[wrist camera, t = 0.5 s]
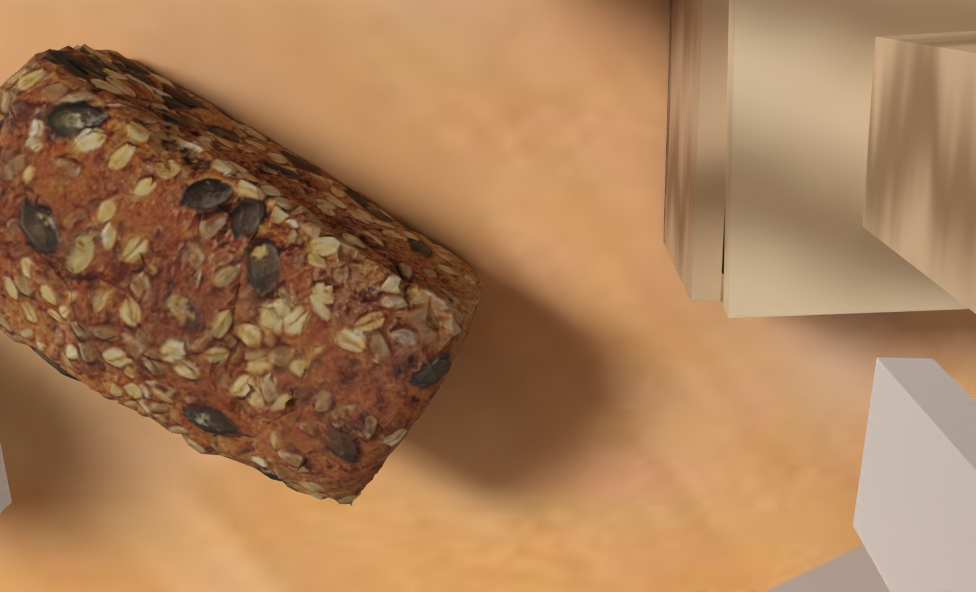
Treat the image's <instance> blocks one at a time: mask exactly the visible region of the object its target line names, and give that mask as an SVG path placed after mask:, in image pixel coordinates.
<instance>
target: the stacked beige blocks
mask: <svg viewBox="0 0 976 592" xmlns="http://www.w3.org/2000/svg"><path fill="white" fill-rule="evenodd" d="M723 309H724V311H725V313H726V314H727V316H728V318H746V317H773V316H799V315H825V314H851V313H877V312H903V311H930V310H956V309H970V310H971V311H972V312H974V313H975V314H976V0H729V26H728V80H727V134H726V188H725V242H724V296H723Z"/></svg>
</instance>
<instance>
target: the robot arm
mask: <svg viewBox="0 0 976 592" xmlns="http://www.w3.org/2000/svg"><path fill="white" fill-rule="evenodd" d="M11 503H12V500H11V495H10V490H9V485H8V480H7V474H6V469H5V464H4V459H3V454H2V448H1V443H0V513H1V512H2V511H3V510H4V509H6V508H7V507H8V506H9V505H10V504H11ZM853 527H854V529H855V530H856V532H857V534H858V536H859V537H860V539H861V541H862V543H863V545H864V546H865V548H866V550H867V552H868V553H869V555H870V557H871V559H872V560H873V562H874V564H875V566H876V568H877V569H878V571H879V573H880V574H881V576H882V578H883V580H884V582H885V584H886V585H887V587H888V589H889V590H890V592H976V401H975V400H974V399H973V398H972V397H971V396H970V395H969V394H968V393H967V392H966V391H965V390H964V389H963V388H962V387H961V386H960V385H959V384H958V383H957V382H956V381H955V380H954V379H953V378H952V377H951V376H950V375H949V374H948V373H947V372H946V371H945V370H944V369H943V368H942V367H941V366H939V365H938V364H937V363H936V362H935V361H934V360H933V359H932V358H887V357H877V360H876V367H875V374H874V381H873V388H872V395H871V402H870V409H869V416H868V423H867V430H866V437H865V444H864V451H863V458H862V466H861V473H860V480H859V487H858V494H857V501H856V508H855V515H854V522H853Z"/></svg>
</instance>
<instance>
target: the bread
mask: <svg viewBox="0 0 976 592" xmlns="http://www.w3.org/2000/svg"><path fill="white" fill-rule="evenodd" d="M482 283H483V282H482V281H481V280H479V279H478V278H477V273H476V272H475V271H473V270H472V269H471V268H470V267H469V266H468V265H467V264H466V263H465V262H464V261H462V260H461V259H460V258H459V257H457V256H456V255H455V254H453V253H452V252H450V251H448V250H447V249H445V248H443V247H441V246H439V245H436V244H433V243H431V242H430V241H429V240H428V239H427V238H426V237H424V236H423V235H421V234H420V233H418V232H416V231H415V230H413V229H411V228H409V227H407V226H405V225H403V224H401V223H399V222H397V221H396V220H395V219H393V218H392V217H391V216H389V215H388V214H387V213H385V212H384V211H383V210H381V209H380V208H379V207H377V206H375V205H374V204H372V203H371V202H369V201H366V200H363V198H362V197H361V196H360V194H359V193H357V192H354V191H351V190H348V189H346V188H345V187H344V186H343V185H341V184H340V183H338V182H337V181H335V180H334V179H333V178H331V177H330V176H328V175H327V174H326V173H324V172H323V171H322V170H319V169H315V168H313V167H311V166H310V165H309V164H308V163H306V162H305V161H304V160H302V159H301V158H300V157H298V156H296V155H295V154H293V153H291V152H290V151H288V150H287V149H285V148H283V147H282V146H280V145H278V144H277V143H275V142H273V141H272V140H270V139H268V138H267V137H265V136H263V135H262V134H260V133H259V132H257V131H255V130H254V129H252V128H251V127H249V126H247V125H246V124H244V123H241V122H237V121H234V120H231V119H229V118H228V117H227V116H225V115H224V114H223V113H221V112H220V111H219V110H218V109H217V108H216V107H215V106H214V105H213V104H211V103H208V102H206V101H204V100H202V99H200V98H199V97H197V96H195V95H194V94H192V93H190V92H189V91H187V90H185V89H183V88H178V87H174V86H173V85H172V83H171V82H170V81H169V80H168V79H165V78H163V77H161V76H159V75H157V74H155V73H152V72H151V71H149V70H148V69H146V68H145V67H143V66H142V65H141V64H139V63H138V62H135V61H133V60H130V59H127V58H125V57H124V56H122V55H121V54H119V53H118V52H116V51H111V50H94V49H92V48H90V47H88V46H87V45H85V44H84V45H83V46H82V47H81V46H78V45H77V46H75V47H74V48H72V47H70V46H67V47H65V48H62V49H60V50H58V51H57V50H51V49H49V50H47V51H45V52H41V53H37V54H35V55H34V56H33V57H32V58H31V59H30V60H29V61H28V62H27V63H26V64H25V65H24V66H23V67H22V68H21V69H20V70H19V71H18V72H16V73H15V74H14V75H12V76H11V77H10V78H9V79H8V80H7V81H6V82H4V83H3V84H2V85H1V86H0V329H1V330H2V331H3V332H4V333H5V334H7V335H8V336H9V337H10V338H11V339H12V340H13V341H14V342H18V343H22V344H26V345H28V346H30V347H31V348H32V349H33V350H34V351H35V352H36V353H37V354H38V355H40V356H41V357H42V358H43V359H44V360H46V361H47V362H48V363H49V364H50V365H52V366H53V367H54V368H55V369H57V370H58V371H59V372H60V373H61V374H63V375H65V376H68V377H70V378H73V379H75V380H78V381H82V382H83V383H85V384H87V385H88V386H89V387H90V389H92V390H95V391H97V392H99V393H100V394H101V395H102V396H103V397H105V398H107V399H109V400H118V403H119V404H121V405H124V406H126V407H128V408H131V409H133V410H135V411H137V412H138V413H139V414H140V415H142V416H145V417H150V418H152V419H153V420H155V421H157V422H158V423H159V424H161V425H162V426H163V427H164V428H166V429H167V430H168V431H170V432H171V433H177V434H182V436H183V438H184V440H185V442H186V443H187V444H188V445H189V446H191V447H192V448H193V449H195V450H196V451H198V452H199V453H201V454H211V455H221V456H224V457H227V458H230V459H232V460H235V461H238V462H241V463H243V464H246V465H248V466H251V467H253V468H256V469H257V470H259V471H260V472H262V473H263V474H265V475H266V476H268V477H269V478H271V479H274V480H278V481H283V482H284V483H285V484H286V485H287V486H288V487H289V488H291V489H293V490H295V491H297V492H301V493H304V494H308V495H311V496H313V497H316V498H318V499H320V500H321V499H325V498H328V497H329V498H332V499H335V500H336V501H337V502H338V503H339V504H350V505H351V506H352V502H353V500H354V499H356V498H357V497H358V496H359V495H360V494H361V491H362V490H363V489H364V488H365V486H366V485H367V484H368V483H369V482H370V481H371V480H373V477H374V475H375V474H376V473H378V471H379V470H380V468H381V467H382V466H383V463H384V462H385V460H386V458H387V457H388V456H389V454H390V453H391V452H392V451H393V450H394V449H395V448H396V447H397V445H398V444H399V443H400V442H401V441H402V439H403V438H404V437H405V436H406V434H407V433H408V431H409V429H410V428H411V426H412V425H413V423H414V422H415V420H417V419H418V418H419V416H420V415H421V413H422V412H423V411H424V409H425V408H426V406H427V405H428V404H429V402H430V401H431V399H432V398H433V396H434V395H435V393H436V392H437V390H438V388H439V387H440V385H441V383H442V381H443V380H444V378H445V376H446V374H447V372H448V371H449V368H450V366H451V362H452V360H453V359H454V357H455V355H456V353H457V351H458V350H459V348H460V346H461V345H462V343H463V341H464V340H465V338H466V336H467V334H468V331H469V328H470V325H471V322H472V318H473V316H474V313H475V310H476V307H477V304H478V303H479V301H480V300H479V295H480V289H481V288H480V287H481V285H482Z"/></svg>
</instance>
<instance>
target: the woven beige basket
mask: <svg viewBox="0 0 976 592" xmlns="http://www.w3.org/2000/svg"><path fill="white" fill-rule="evenodd" d="M728 26H729V0H671V3H670V38H669V73H668V108H667V143H666V178H665V213H664V243H665V245H666V248H667V250H668V252H669V254H670V256H671V259H672V261H673V263H674V265H675V267H676V270H677V272H678V274H679V276H680V278H681V281H682V283H683V285H684V287H685V289H686V291H687V294H688V296H689V298H690V300H691V302H715V301H723V296H724V242H725V188H726V134H727V80H728Z"/></svg>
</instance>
